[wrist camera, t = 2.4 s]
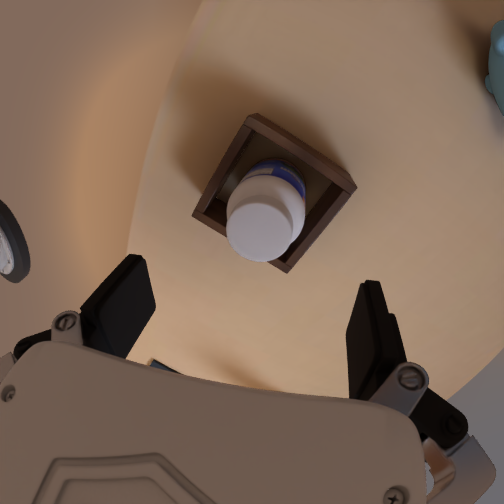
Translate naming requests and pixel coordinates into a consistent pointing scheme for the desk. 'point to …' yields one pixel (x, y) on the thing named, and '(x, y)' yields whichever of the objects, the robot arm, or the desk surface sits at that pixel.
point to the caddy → (343, 184)
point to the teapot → (496, 65)
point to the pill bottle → (266, 210)
